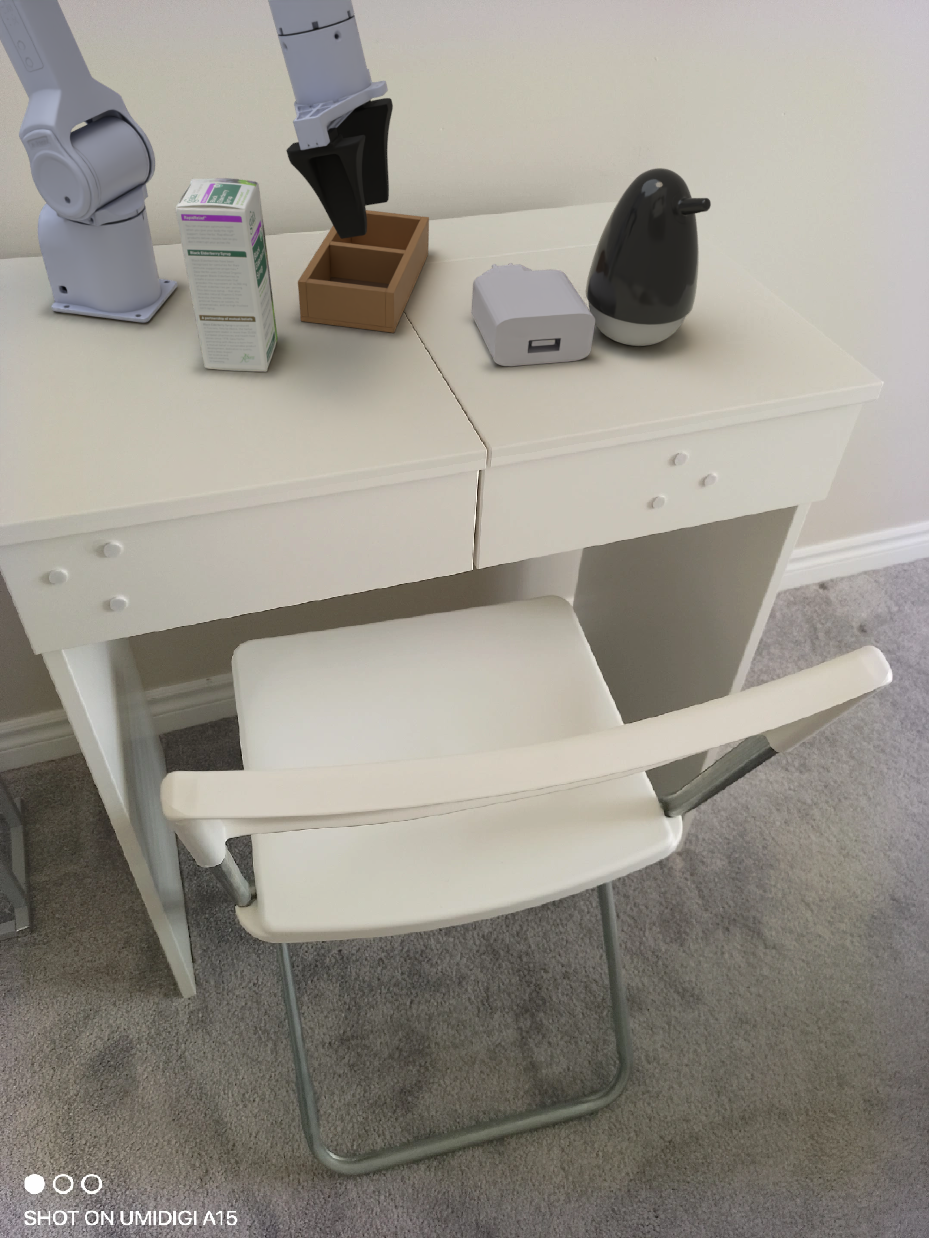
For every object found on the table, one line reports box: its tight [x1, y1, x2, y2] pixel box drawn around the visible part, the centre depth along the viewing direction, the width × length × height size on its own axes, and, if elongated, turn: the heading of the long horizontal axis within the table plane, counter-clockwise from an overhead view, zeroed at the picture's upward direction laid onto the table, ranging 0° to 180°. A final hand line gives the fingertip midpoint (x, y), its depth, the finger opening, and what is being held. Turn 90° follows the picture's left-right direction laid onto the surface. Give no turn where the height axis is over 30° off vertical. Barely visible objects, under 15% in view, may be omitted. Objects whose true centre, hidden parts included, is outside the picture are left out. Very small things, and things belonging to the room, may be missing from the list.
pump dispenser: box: [585, 167, 712, 347], centre depth 87 cm, size 10×10×15 cm
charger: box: [470, 262, 596, 367], centre depth 91 cm, size 5×9×15 cm
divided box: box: [297, 209, 430, 334], centre depth 95 cm, size 9×17×4 cm, turn 171°
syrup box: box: [174, 177, 279, 372], centre depth 81 cm, size 6×6×14 cm
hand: (365, 218), depth 77 cm, fingers open, 7 cm apart
